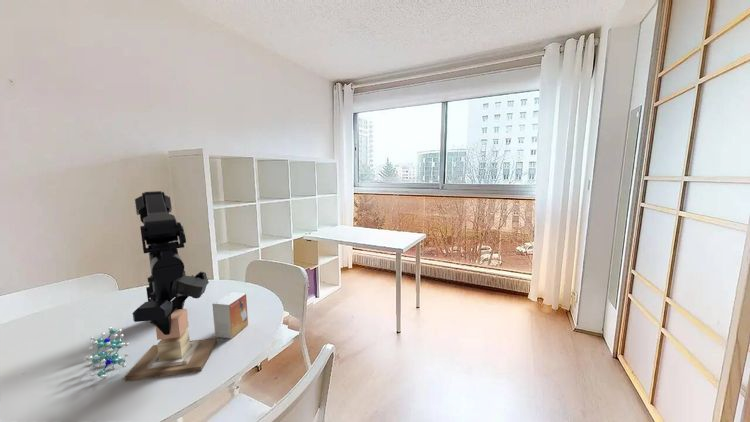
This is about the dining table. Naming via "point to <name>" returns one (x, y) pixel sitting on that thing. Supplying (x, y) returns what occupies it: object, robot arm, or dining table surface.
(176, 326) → the terracotta block
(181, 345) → the maple block
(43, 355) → the dining table surface
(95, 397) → the dining table surface
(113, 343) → the molecule model
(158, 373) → the walnut board
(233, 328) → the small box
